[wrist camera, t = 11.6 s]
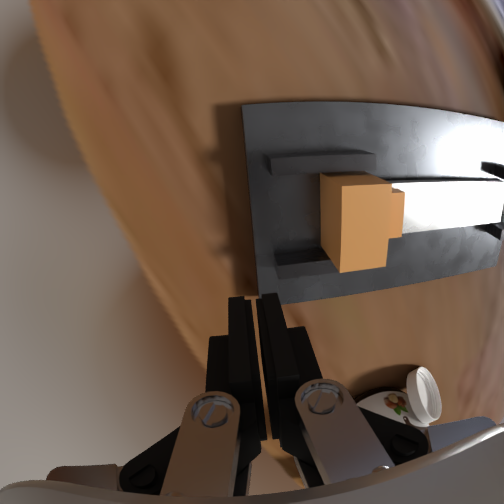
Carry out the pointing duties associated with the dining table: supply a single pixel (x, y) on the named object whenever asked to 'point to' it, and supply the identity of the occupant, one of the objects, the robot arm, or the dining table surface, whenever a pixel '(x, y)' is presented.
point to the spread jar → (406, 400)
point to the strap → (450, 203)
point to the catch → (359, 218)
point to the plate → (374, 162)
